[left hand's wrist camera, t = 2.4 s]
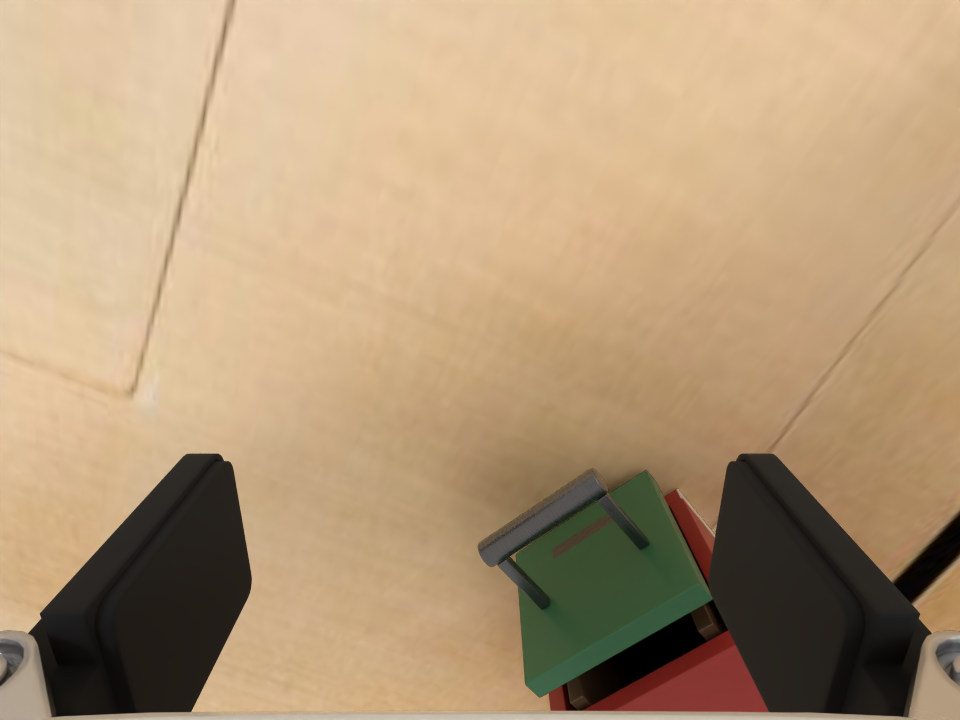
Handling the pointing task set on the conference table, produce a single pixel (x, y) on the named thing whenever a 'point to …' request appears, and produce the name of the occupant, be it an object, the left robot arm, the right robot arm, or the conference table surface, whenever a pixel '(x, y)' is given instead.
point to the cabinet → (686, 656)
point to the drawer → (603, 587)
